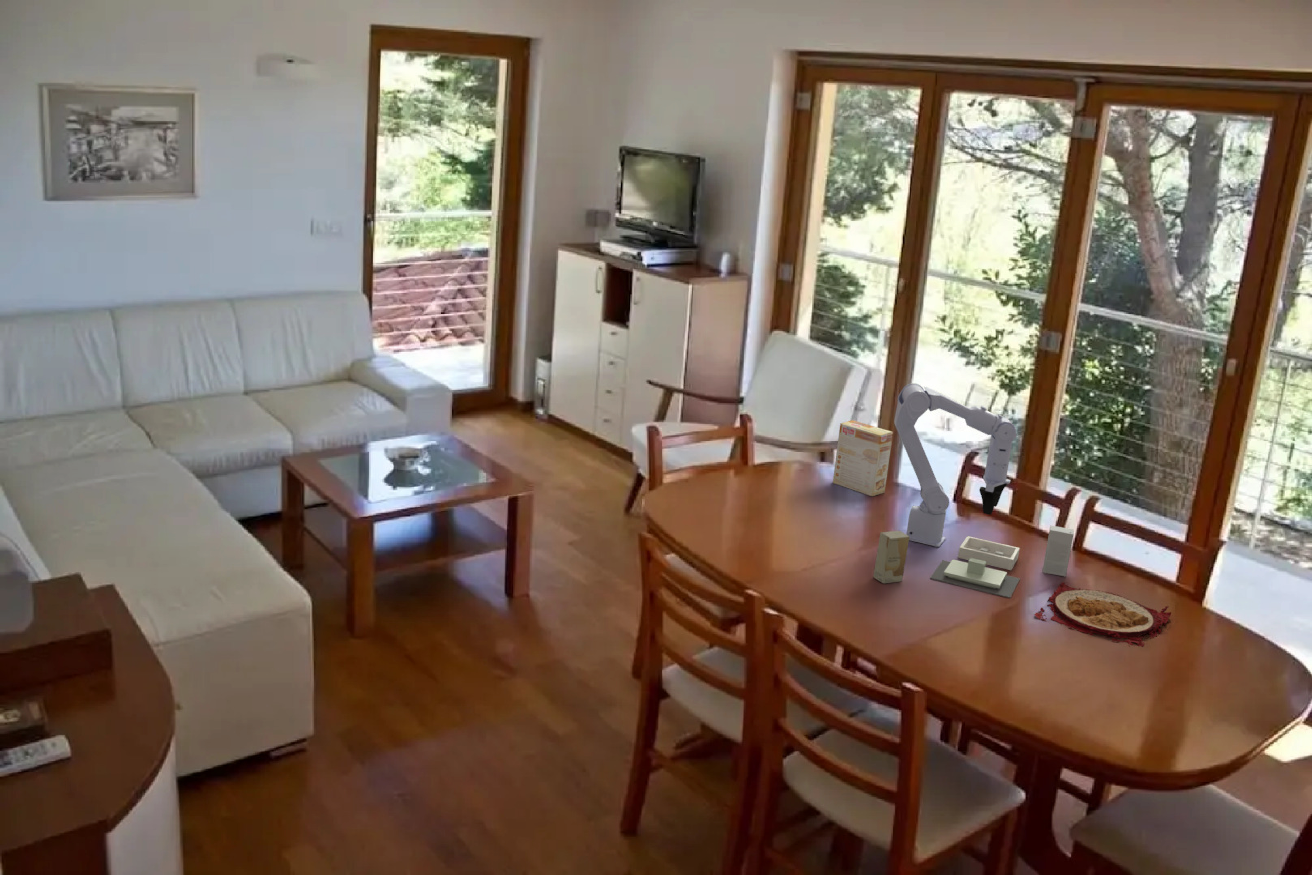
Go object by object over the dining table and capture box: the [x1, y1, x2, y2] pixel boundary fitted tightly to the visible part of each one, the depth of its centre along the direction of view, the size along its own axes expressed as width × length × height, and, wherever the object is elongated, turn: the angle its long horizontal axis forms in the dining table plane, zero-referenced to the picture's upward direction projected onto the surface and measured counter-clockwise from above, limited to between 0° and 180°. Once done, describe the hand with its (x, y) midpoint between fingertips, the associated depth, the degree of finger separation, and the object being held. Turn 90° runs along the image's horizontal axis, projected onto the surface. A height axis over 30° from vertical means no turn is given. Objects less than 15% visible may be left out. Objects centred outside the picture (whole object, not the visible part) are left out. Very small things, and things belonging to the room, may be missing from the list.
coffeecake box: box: [832, 419, 894, 497], centre depth 368 cm, size 15×7×20 cm, turn 46°
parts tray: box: [957, 535, 1021, 571], centre depth 323 cm, size 14×10×3 cm
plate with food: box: [1034, 582, 1172, 648], centre depth 291 cm, size 25×26×4 cm
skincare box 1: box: [872, 530, 910, 584], centre depth 302 cm, size 6×4×12 cm
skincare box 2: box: [1042, 525, 1075, 577], centre depth 316 cm, size 6×4×12 cm
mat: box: [929, 559, 1021, 599], centre depth 308 cm, size 20×14×1 cm
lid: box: [943, 558, 1008, 589], centre depth 308 cm, size 14×10×5 cm
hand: (989, 509), depth 329 cm, fingers open, 7 cm apart
